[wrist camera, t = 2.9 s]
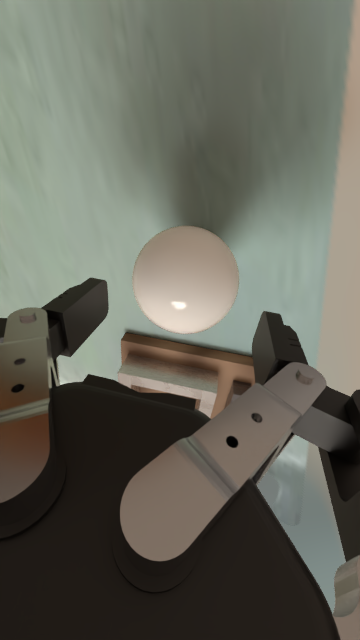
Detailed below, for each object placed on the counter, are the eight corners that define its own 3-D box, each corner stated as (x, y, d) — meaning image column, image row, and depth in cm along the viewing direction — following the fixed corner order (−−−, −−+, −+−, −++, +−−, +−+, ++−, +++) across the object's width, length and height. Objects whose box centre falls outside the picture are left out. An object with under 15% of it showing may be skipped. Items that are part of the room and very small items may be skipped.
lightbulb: (247, 264, 21) (260, 336, 12) (184, 290, 24) (155, 367, 14) (218, 192, 19) (206, 213, 9) (151, 230, 21) (90, 276, 12)
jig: (127, 408, 35) (115, 437, 32) (125, 332, 28) (109, 358, 24) (236, 433, 34) (236, 465, 30) (265, 359, 26) (271, 391, 22)
